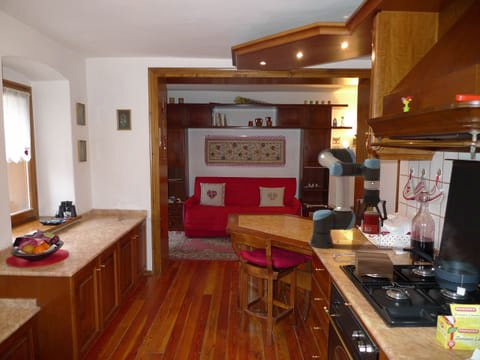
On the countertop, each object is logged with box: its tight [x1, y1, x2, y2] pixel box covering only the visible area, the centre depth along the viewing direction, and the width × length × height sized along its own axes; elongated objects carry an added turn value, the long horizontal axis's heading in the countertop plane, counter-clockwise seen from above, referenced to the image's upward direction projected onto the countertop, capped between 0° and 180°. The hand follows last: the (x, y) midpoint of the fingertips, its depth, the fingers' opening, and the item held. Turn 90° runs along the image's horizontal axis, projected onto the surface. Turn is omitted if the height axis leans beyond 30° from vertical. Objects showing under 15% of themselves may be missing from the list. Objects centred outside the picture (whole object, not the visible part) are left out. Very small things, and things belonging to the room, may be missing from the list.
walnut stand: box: [354, 250, 394, 280], centre depth 164 cm, size 16×16×8 cm
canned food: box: [362, 210, 380, 235], centre depth 165 cm, size 8×8×11 cm
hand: (370, 232), depth 165 cm, fingers closed on canned food, 8 cm apart
